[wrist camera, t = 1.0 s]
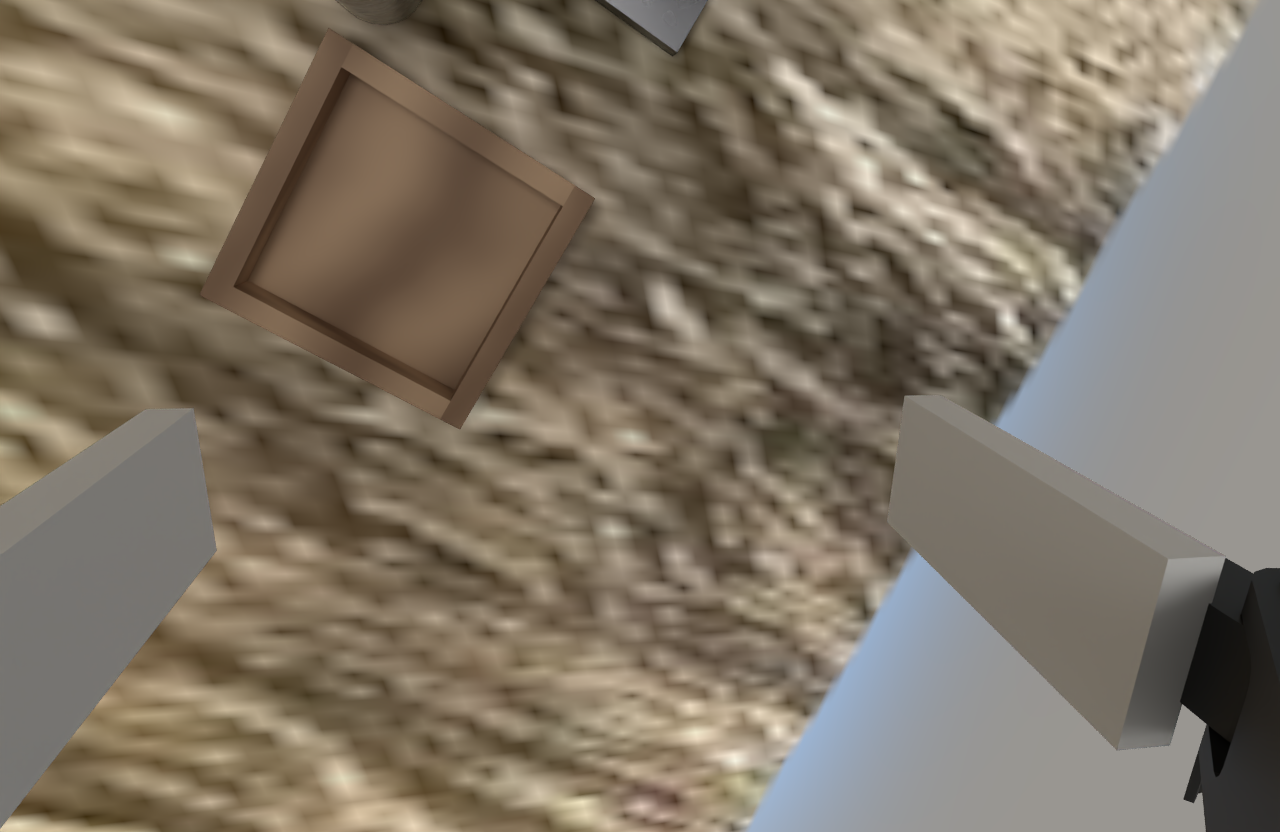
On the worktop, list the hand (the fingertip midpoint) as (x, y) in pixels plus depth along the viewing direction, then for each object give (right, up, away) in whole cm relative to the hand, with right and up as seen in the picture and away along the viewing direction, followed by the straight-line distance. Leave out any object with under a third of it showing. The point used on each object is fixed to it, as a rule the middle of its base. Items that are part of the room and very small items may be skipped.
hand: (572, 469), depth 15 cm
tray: (-9, +9, +20) cm, 24 cm away
